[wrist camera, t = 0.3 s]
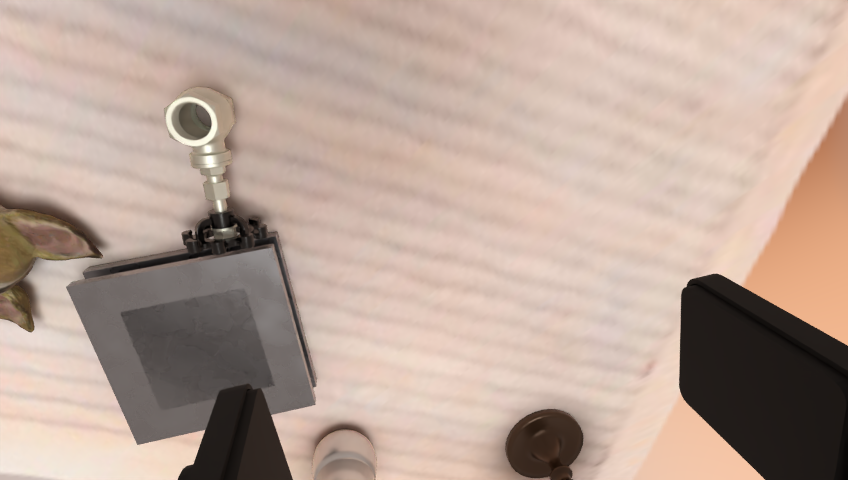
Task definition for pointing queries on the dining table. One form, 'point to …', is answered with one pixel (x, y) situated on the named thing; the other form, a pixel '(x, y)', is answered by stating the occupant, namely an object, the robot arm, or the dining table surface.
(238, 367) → the stand
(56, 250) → the ceramic sculpture
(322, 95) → the dining table surface
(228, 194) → the valve
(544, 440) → the candlestick
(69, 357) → the dining table surface
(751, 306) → the robot arm
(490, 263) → the dining table surface
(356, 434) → the plastic bottle
